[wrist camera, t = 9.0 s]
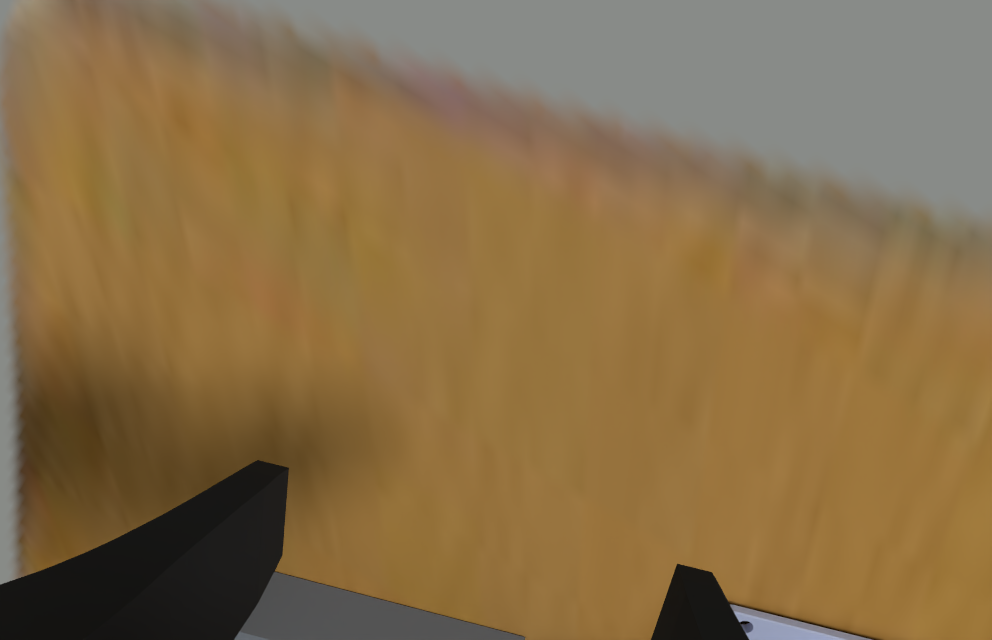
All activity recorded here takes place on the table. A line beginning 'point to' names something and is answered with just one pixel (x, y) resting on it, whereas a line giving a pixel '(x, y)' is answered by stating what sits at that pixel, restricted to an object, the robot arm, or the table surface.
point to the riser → (348, 617)
